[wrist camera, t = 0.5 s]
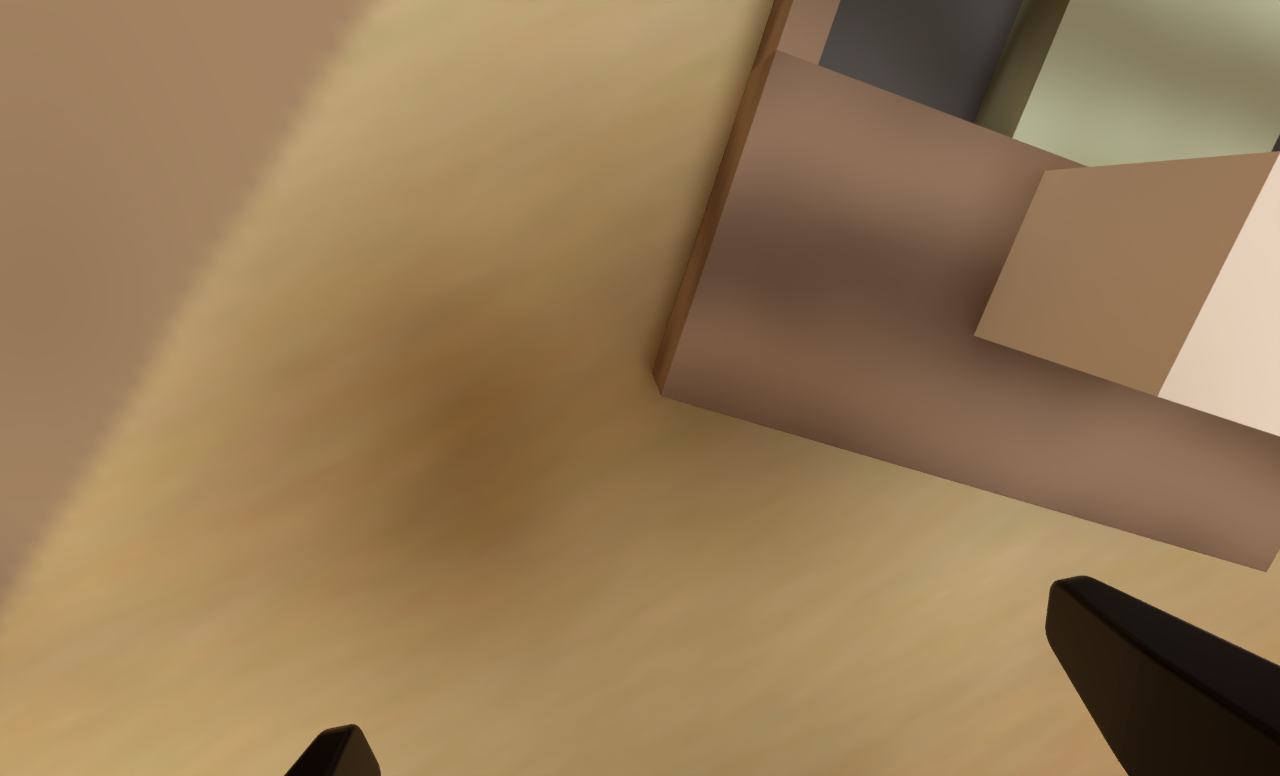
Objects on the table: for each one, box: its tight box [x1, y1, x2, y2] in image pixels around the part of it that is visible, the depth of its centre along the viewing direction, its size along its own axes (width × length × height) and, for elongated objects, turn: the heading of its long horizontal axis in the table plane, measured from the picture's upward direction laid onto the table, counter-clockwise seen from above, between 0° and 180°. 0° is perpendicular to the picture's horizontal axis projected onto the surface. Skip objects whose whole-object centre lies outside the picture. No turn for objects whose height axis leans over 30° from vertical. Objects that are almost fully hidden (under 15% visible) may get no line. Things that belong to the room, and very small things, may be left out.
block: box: [974, 151, 1280, 436], centre depth 17 cm, size 5×5×7 cm
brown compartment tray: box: [652, 0, 1280, 572], centre depth 22 cm, size 16×22×3 cm
